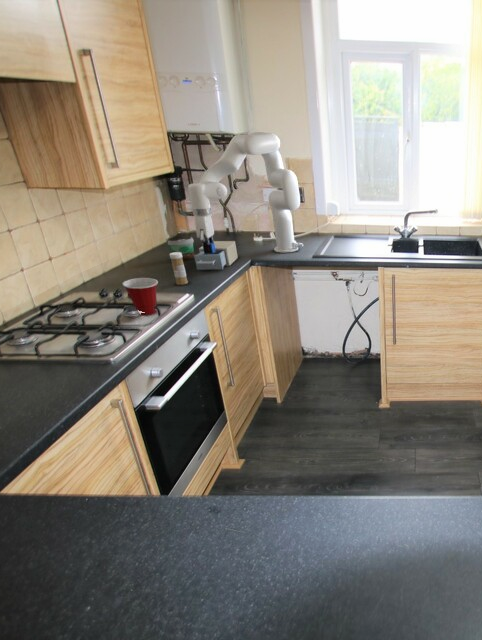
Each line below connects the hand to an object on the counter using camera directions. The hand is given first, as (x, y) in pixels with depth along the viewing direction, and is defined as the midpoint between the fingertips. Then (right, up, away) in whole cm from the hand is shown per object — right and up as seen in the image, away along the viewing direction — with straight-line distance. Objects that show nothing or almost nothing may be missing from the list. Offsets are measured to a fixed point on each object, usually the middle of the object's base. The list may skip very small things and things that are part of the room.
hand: (209, 251), depth 221 cm
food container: (-20, -1, +17) cm, 26 cm away
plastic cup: (+1, -32, -47) cm, 57 cm away
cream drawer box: (-2, -2, +14) cm, 14 cm away
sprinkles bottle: (-3, -17, -17) cm, 25 cm away
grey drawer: (0, -7, +3) cm, 7 cm away
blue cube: (0, 0, 0) cm, 0 cm away
